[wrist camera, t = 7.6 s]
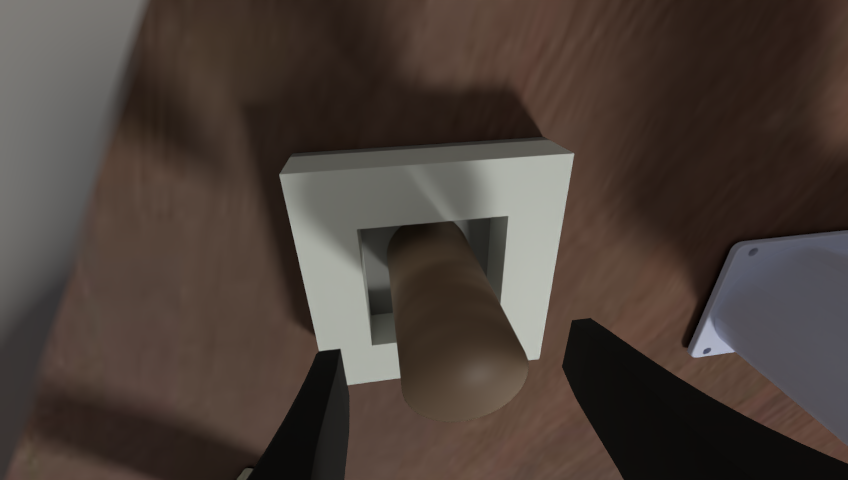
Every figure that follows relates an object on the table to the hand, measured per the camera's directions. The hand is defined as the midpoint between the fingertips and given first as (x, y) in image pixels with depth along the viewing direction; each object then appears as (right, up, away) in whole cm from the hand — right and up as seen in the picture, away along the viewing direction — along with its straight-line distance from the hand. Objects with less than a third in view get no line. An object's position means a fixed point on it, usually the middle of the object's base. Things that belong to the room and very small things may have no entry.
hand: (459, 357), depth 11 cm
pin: (-1, +3, +5) cm, 6 cm away
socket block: (-1, +3, +6) cm, 6 cm away
